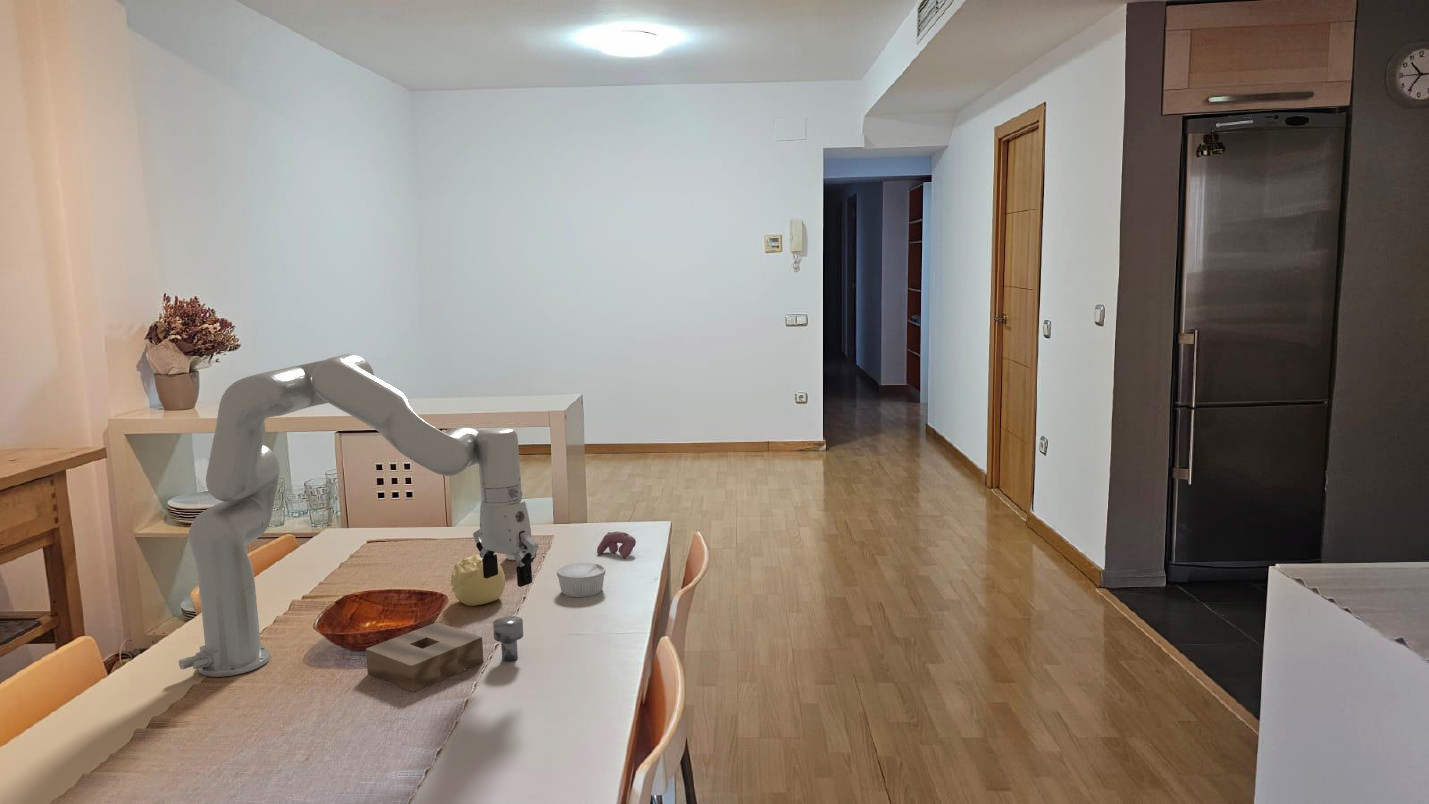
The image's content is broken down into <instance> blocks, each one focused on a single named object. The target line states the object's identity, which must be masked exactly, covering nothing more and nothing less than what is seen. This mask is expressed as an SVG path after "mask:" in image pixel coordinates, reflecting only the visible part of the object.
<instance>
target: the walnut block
mask: <svg viewBox="0 0 1429 804" xmlns="http://www.w3.org/2000/svg"><path fill="white" fill-rule="evenodd" d="M483 645H484V644H483V636H480V635H476V634H473V633H470V632H468V631H464V630H461V629H458V628H455V627H453V626H449V625H446V624H443V623H440V622H437V621H436V622H433V623H431V624H428V625H425V626H423V627H421V628H418V629H414V630H412V631H409V632H407V633H404V634H402V635H399V636H396V637H393V638H391V639H388V640H386V641H383V642H380V643H378V644H375V645H372V646H370V647H367V648H365V656H366V657H365V658H366V659H365V660H366V668H367V669H366V670H367V675H369V676H371V677H375V678H377V679H378V680H379V679H380V680H381V681H384V682H386V683H389V684H392V685H394V686H397V687H399V688H401V689H404V690H406V691H408V692H411V693H415V692H417V691H421V690H423V689H424V688H426V687H430V686H431V685H434V684H436V683H438V682H441V681H443V680H445V679H448V678H450V677H452V676H455V675H456V673H457V674H459V673H461V672H463V671H462V670H464V669H466V670H469V669H470V668H472V667H475V666H478V665H479V663H480V664H482V663H484V661H485V660H484V647H483ZM477 664H478V665H477ZM460 671H461V672H460ZM464 671H465V670H464ZM458 672H459V673H458ZM454 674H455V675H454ZM447 677H448V678H447ZM444 678H445V679H444ZM442 679H443V680H442ZM440 680H441V681H440Z"/></svg>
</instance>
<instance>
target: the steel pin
mask: <svg viewBox="0 0 1429 804" xmlns="http://www.w3.org/2000/svg"><path fill="white" fill-rule="evenodd" d="M523 621H524V620H523V618H522V617H520V616H512V615H511V616H509V615H507V616H503V617H499V618H496V619H495V620H494V621H493V622H492V627H493V629H492V630H493V639H494V640H495V641H496V642H500V643H501V645H500V648H501V660H502V661H503V662H506V663H507V662H508V663H509V662H514V661H516V660H518V659H519V653H518V640H521V639H522V638H523V637H524V622H523Z"/></svg>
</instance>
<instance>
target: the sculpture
mask: <svg viewBox="0 0 1429 804" xmlns="http://www.w3.org/2000/svg"><path fill="white" fill-rule="evenodd" d="M482 559H483V558H481V557H480V554H478V553H475V554H473V555H470V556H467V557H463V559H462V560H460V561H456V562H455V564H454V567H453V570H452V571H451V577H450V585H451V586H452V588H451V592H453V593H454V596H455V598H456V599H457V600H458V601H459V602H461V603H463V604H464V605H466V606H468V607H469V606H470V607H471V606H472V607H473V606H480V605H485V604H488V603H489V604H490V603H493V602H495V601H496V600H499V599H500V598H501V597H502V595H503V593H504V590H505V587H506V576H505V572H504V569H503V567H502V566H501V564H500V563H499V562H498V574H497V575H495V576H492V577H490V578H487V579H486V578H484V576H483V563H482Z"/></svg>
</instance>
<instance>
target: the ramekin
mask: <svg viewBox="0 0 1429 804" xmlns="http://www.w3.org/2000/svg"><path fill="white" fill-rule="evenodd" d="M605 575H606V568H605V567H604V566H603V565H602V564H599V563H595V562H576V563H570V564H567V565H566V564H565V565H563V566H561V567H559V568H558V569H557V571H556V576H557V578H558V583H559V588H560V591H561V592H562V594H564V596H567V597H571V598H587V597H592V596H595V595H597V594H599V593H600V592H601V591H602V590H603V588H604V587H603V586H604V580H605Z"/></svg>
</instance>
